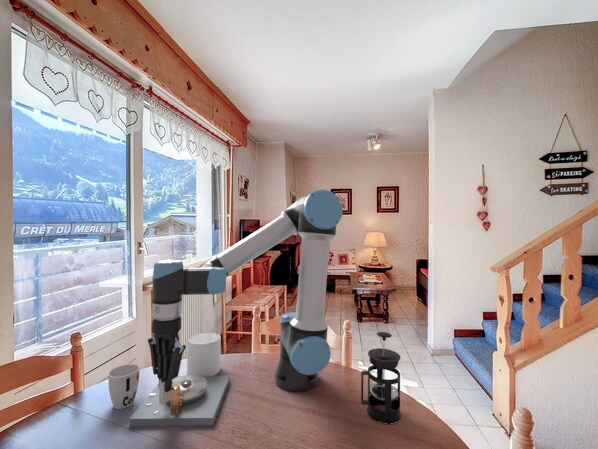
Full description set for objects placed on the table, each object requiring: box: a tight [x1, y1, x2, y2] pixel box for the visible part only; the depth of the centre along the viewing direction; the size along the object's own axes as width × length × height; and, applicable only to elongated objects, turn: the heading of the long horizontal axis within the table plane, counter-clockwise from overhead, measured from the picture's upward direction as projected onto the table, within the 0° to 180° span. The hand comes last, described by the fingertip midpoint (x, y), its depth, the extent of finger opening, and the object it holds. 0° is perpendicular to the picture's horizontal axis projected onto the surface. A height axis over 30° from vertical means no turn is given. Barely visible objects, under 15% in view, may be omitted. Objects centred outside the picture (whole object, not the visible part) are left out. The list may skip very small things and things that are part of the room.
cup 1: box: [107, 363, 140, 410], centre depth 87 cm, size 8×8×10 cm
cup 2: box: [186, 332, 222, 376], centre depth 107 cm, size 12×12×12 cm
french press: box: [360, 331, 402, 425], centre depth 84 cm, size 12×9×23 cm
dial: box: [167, 374, 207, 414], centre depth 86 cm, size 16×12×6 cm
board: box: [128, 375, 231, 427], centre depth 88 cm, size 22×22×2 cm
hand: (164, 401), depth 80 cm, fingers closed
